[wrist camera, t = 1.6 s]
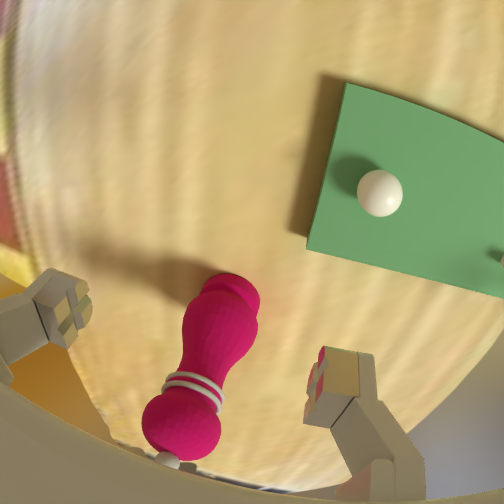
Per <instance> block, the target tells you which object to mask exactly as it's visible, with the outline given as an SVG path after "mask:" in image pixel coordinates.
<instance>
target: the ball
mask: <svg viewBox="0 0 504 504" xmlns="http://www.w3.org/2000/svg"><path fill="white" fill-rule="evenodd" d="M402 197H403V192H402V187H401V184H400V182H399V180H398V179H397V178H396V177H395V176H394V175H393V174H392V173H390V172H388V171H385V170H373V171H370V172H368V173H367V174H365V175H364V176H363V177H362V178H361V180H360V182H359V184H358V187H357V198H358V201H359V203H360V205H361V207H362V208H363V209H364V210H365V211H366V212H367V213H369V214H371V215H373V216H377V217H384V216H388V215H390V214H392V213H394V212H395V211H396V210H397V209H398V208H399V206H400V204H401V201H402Z"/></svg>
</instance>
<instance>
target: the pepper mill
mask: <svg viewBox="0 0 504 504" xmlns="http://www.w3.org/2000/svg"><path fill="white" fill-rule="evenodd" d="M259 305H260V298H259V294H258V292H257V290H256V289H255V288H254V286H253V285H252V284H251V283H250V282H248V281H247V280H245V279H244V278H241V277H239V276H237V275H232V274H219V275H216V276H213V277H212V278H210V279H209V280H208V281H207V282H206V283H205V285H204V287H203V289H202V291H201V293H200V295H199V296H197V297H196V298H194V299H193V300H192V301H191V302H190V304H189V305H188V307H187V309H186V312H185V315H184V317H183V325H182V338H183V356H182V360H181V363H180V365H179V368H178V369H177V371H176V372H174V373H171V374H169V375H168V376H167V378H166V380H165V384H164V385H163V386H162V389H161V391H162V394H161V395H158V396H156V397H154V398H153V399H152V400H151V401H150V402H149V403H148V404H147V406H146V407H145V410H144V412H143V416H142V431H143V434H144V436H145V438H146V440H147V441H148V442H149V444H150V445H151V446H152V447H153V448H154V449H156V450H157V451H158V452H160V453H159V454H158V455H157V456H156V458H155V462H157V463H160V464H163V465H166V466H168V467H171V468H174V469H178V468H179V464H180V462H179V460H182V461H192V460H198V459H201V458H203V457H205V456H207V455H208V454H209V453H211V452H212V451H213V450H214V448H215V447H216V445H217V443H218V441H219V439H220V435H221V423H220V421H219V418H218V416H217V415H218V414H219V413H220V412H221V410H222V404H223V403H224V401H225V395H224V393H223V391H222V387H223V383H224V380H225V377H226V375H227V373H228V371H229V370H230V368H231V367H232V366H233V365H234V364H235V363H236V362H237V361H239V360H240V359H241V358H242V357H243V356H244V355H245V354H246V353H247V352H248V350H249V349H250V348H251V346H252V345H253V343H254V340H255V338H256V335H257V331H258V323H257V319H256V316H257V313H258V309H259Z"/></svg>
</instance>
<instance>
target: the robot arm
mask: <svg viewBox="0 0 504 504" xmlns="http://www.w3.org/2000/svg"><path fill="white" fill-rule="evenodd" d="M88 291H89V288H88V284H87V282H86V281H84V280H82V279H79V278H77V277H74V276H72V275H69V274H67V273H64V272H61V271H58V270H56V269H53V268H49V269H47V270H46V271H44V272H43V273H42V274H41V275H40V276H39V277H38V278H37V279H36V280H35V281H34V282H33V283H32V284H31V285H30V286H29V287H28V288H27V289H26V290H25V291H24V292H23V293H22V294H21V295H20V294H15V295H12V296H9V297H7V298H4V299H1V300H0V504H504V488H501V489H497V490H492V491H488V492H482V493H477V494H471V495H464V496H457V497H449V498H441V499H431V500H426V483H425V466H424V458H423V457H422V456H421V454H420V453H419V451H418V450H417V449H416V447H415V446H414V445H413V443H412V442H411V440H410V439H409V437H408V436H407V435H406V433H405V432H404V430H403V429H402V428H401V426H400V425H399V423H398V422H397V421H396V419H395V418H394V416H393V415H392V414H391V412H390V411H389V410H388V408H387V407H386V405H385V404H384V403H383V401H379V400H378V398H377V384H376V372H375V361H374V356H373V355H372V354H367V353H361V352H355V351H350V350H344V349H339V348H333V347H328V346H323V347H322V348H321V350H320V352H319V356H318V362H316V363H314V365H313V367H312V370H311V372H310V376H309V379H308V385H307V392H306V393H307V394H308V396H309V399H308V400H307V402H306V404H305V410H304V419H303V424H308V425H313V426H318V427H324V428H330V431H331V433H332V435H333V437H334V439H335V441H336V444H337V446H338V448H339V450H340V452H341V454H342V456H343V458H344V460H345V462H346V464H347V466H348V468H349V470H350V472H351V474H352V478H350V479H349V480H348V481H346V482H345V483H344V484H342V485H341V486H339V487H338V488H337V489H336V492H335V500H325V499H314V498H305V497H297V496H290V495H283V494H277V493H271V492H265V491H260V490H254V489H250V488H245V487H240V486H236V485H231V484H227V483H223V482H219V481H215V480H211V479H208V478H204V477H200V476H197V475H193V474H190V473H187V472H184V471H181V470H178V469H174V468H171V467H168V466H166V465H163V464H160V463H157V462H154V461H152V460H149V459H146V458H143V457H141V456H138V455H136V454H133V453H131V452H128V451H126V450H124V449H121V448H119V447H117V446H114V445H112V444H110V443H107V442H105V441H103V440H101V439H99V438H97V437H95V436H93V435H91V434H89V433H86V432H84V431H82V430H81V429H78V428H77V427H75V426H73V425H71V424H69V423H67V422H65V421H63V420H61V419H60V418H58V417H56V416H54V415H53V414H51V413H49V412H47V411H46V410H44V409H42V408H41V407H39V406H37V405H35V404H34V403H33V402H31V401H29V400H28V399H26V398H25V397H23V396H21V395H20V394H18V393H17V392H15V391H14V390H12V389H11V388H10V387H8V386H9V385H10V384H11V382H12V381H13V379H14V377H13V374H12V372H11V371H10V369H9V368H8V365H10V364H12V363H14V362H15V361H17V360H19V359H21V358H22V357H24V356H26V355H28V354H29V353H31V352H33V351H35V350H36V349H38V348H40V347H42V346H43V345H45V344H47V343H49V341H50V342H52V343H54V344H56V345H59V346H61V347H63V348H65V349H69V348H70V346H71V345H72V344H73V342H74V341H75V340H76V338H77V337H78V330H79V329H82V328H84V327H85V326H86V325H87V324H88V322H89V321H90V318H91V315H92V308H93V306H92V301H91V300H90V298H89V297H88V295H87V293H88Z"/></svg>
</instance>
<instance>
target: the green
mask: <svg viewBox="0 0 504 504" xmlns="http://www.w3.org/2000/svg"><path fill="white" fill-rule="evenodd" d="M373 170H385V171H388V172H390V173H392V174H393V175H394V176H395V177H396V178H397V179H398V180H399V182H400V184H401V187H402V192H403V197H402V201H401V204H400V206H399V208H398V209H397V210H396V211H395V212H394V213H392V214H390V215H388V216H384V217H377V216H373V215H371V214H369V213H367V212H366V211H365V210H364V209H363V208H362V207H361V205H360V203H359V201H358V198H357V187H358V184H359V182H360V180H361V178H362V177H363V176H364V175H365V174H367V173H368V172H370V171H373ZM306 249H307V250H311V251H315V252H319V253H323V254H328V255H332V256H336V257H340V258H344V259H348V260H352V261H357V262H361V263H365V264H369V265H373V266H377V267H381V268H385V269H389V270H393V271H397V272H401V273H405V274H409V275H413V276H417V277H421V278H425V279H429V280H433V281H437V282H441V283H445V284H449V285H453V286H457V287H460V288H464V289H468V290H472V291H476V292H480V293H484V294H487V295H491V296H495V297H499V298H503V299H504V143H503V142H501V141H499V140H497V139H495V138H493V137H491V136H489V135H487V134H485V133H483V132H481V131H479V130H477V129H475V128H473V127H470V126H468V125H466V124H464V123H461V122H459V121H457V120H455V119H452V118H450V117H447V116H445V115H443V114H440V113H438V112H435V111H433V110H430V109H427V108H425V107H422V106H419V105H417V104H414V103H411V102H408V101H405V100H402V99H400V98H397V97H394V96H390V95H387V94H384V93H381V92H378V91H374V90H371V89H368V88H364V87H361V86H357V85H353V84H350V83H346V82H345V84H344V89H343V94H342V98H341V103H340V107H339V112H338V116H337V121H336V125H335V130H334V134H333V138H332V142H331V147H330V151H329V155H328V159H327V163H326V167H325V172H324V176H323V180H322V184H321V188H320V191H319V195H318V199H317V203H316V207H315V211H314V215H313V218H312V222H311V226H310V230H309V233H308V237H307V245H306Z"/></svg>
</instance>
